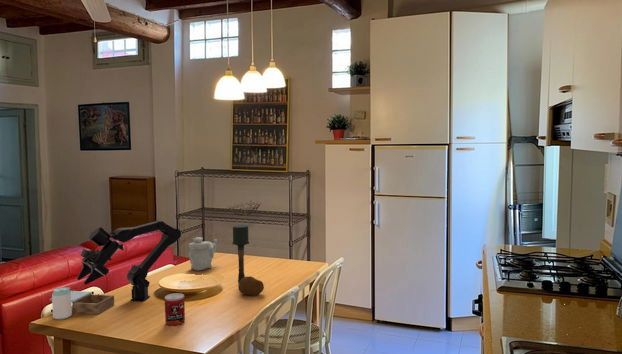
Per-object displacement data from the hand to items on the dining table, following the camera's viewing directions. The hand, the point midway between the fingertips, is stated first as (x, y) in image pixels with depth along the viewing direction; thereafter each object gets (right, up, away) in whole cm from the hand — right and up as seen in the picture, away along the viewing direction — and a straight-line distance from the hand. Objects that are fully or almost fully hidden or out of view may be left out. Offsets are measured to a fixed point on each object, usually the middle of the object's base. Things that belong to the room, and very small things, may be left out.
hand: (81, 281), depth 204 cm
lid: (-8, -8, +7) cm, 13 cm away
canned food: (+44, -14, -12) cm, 48 cm away
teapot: (+36, -8, +74) cm, 83 cm away
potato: (+70, -12, +23) cm, 74 cm away
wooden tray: (+3, -13, +5) cm, 14 cm away
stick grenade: (+63, -10, +42) cm, 76 cm away
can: (-6, -14, -4) cm, 16 cm away
